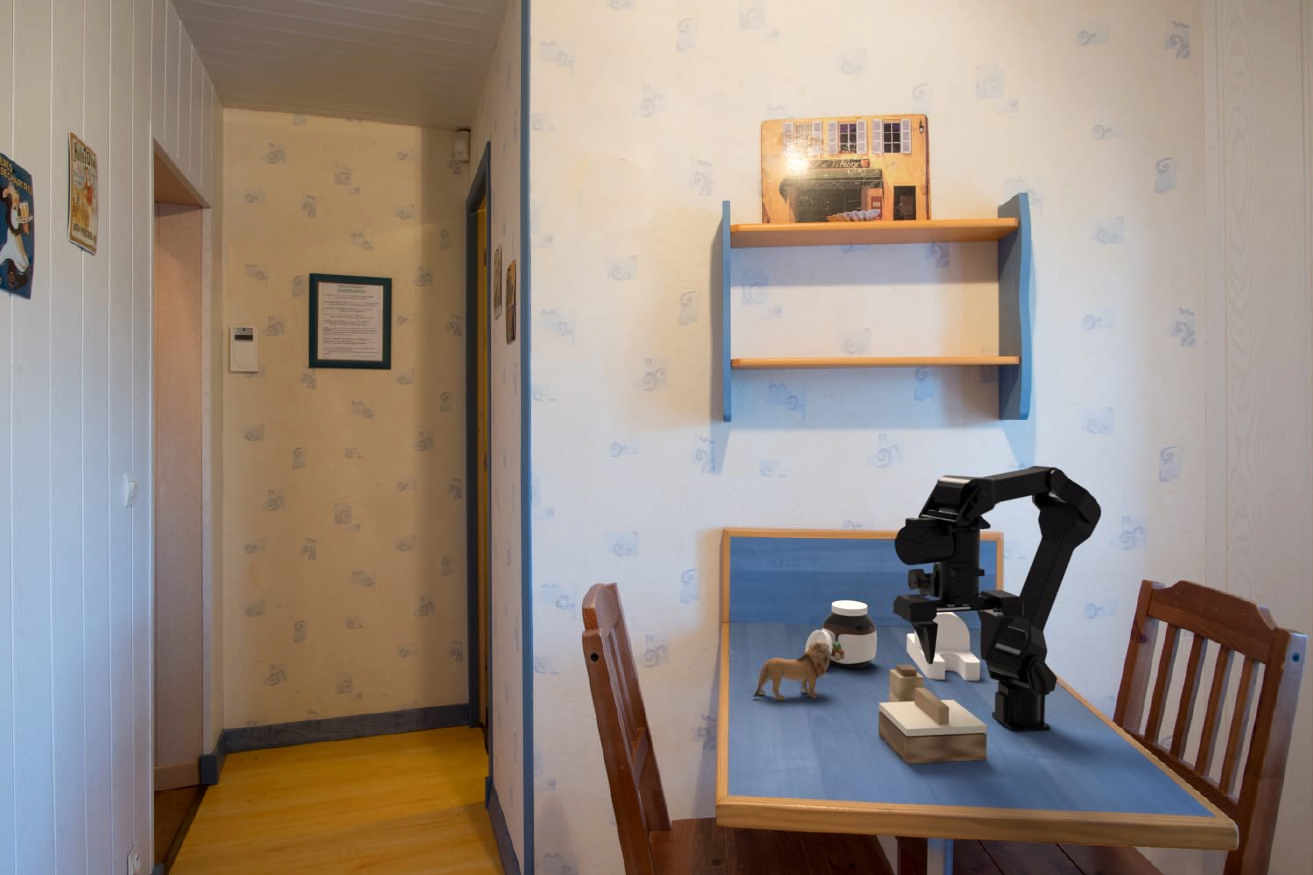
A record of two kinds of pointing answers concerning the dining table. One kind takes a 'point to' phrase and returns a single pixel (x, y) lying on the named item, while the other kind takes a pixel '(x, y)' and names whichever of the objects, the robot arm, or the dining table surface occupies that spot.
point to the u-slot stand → (947, 650)
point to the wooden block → (904, 683)
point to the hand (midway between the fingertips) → (957, 661)
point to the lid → (931, 716)
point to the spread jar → (848, 635)
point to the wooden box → (932, 745)
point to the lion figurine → (796, 670)
